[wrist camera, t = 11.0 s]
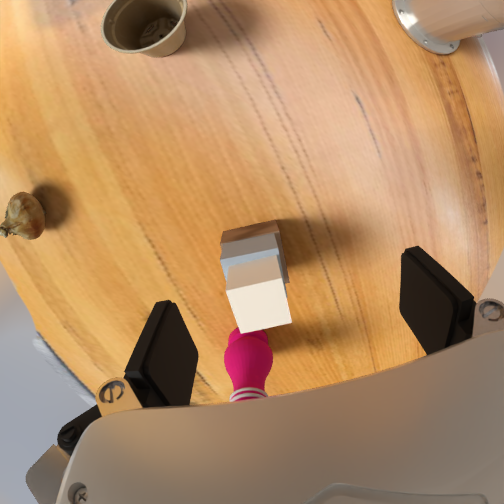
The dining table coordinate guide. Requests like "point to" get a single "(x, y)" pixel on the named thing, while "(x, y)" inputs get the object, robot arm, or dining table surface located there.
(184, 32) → the flower pot
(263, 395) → the pepper mill
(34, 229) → the onion
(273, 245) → the slate block
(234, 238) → the walnut block
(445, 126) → the dining table surface
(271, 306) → the cream block
